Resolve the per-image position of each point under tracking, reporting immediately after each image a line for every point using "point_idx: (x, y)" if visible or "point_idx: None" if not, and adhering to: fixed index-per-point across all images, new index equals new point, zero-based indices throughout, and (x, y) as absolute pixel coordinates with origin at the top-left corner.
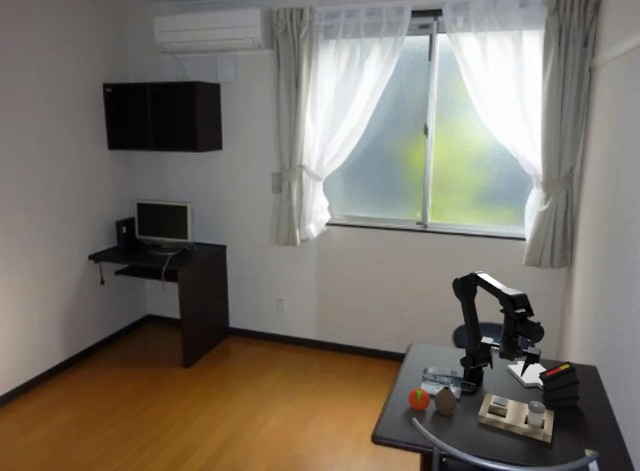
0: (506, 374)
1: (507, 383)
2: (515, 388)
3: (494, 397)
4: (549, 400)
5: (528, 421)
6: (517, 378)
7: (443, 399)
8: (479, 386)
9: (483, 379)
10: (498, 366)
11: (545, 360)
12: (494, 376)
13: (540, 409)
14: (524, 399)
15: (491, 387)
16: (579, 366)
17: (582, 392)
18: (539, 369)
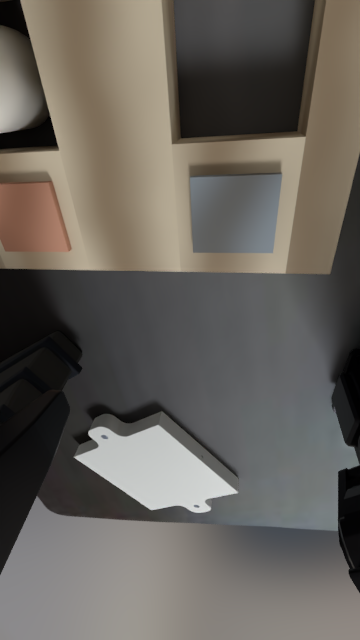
0: (237, 454)
1: (226, 411)
2: (192, 392)
3: (275, 250)
4: (36, 346)
5: (2, 40)
6: (196, 443)
7: None
8: (353, 352)
9: (334, 401)
10: (268, 483)
11: (146, 519)
12: (280, 436)
13: None
14: (142, 337)
15: (289, 368)
16: (72, 511)
17: None
18: (141, 490)
